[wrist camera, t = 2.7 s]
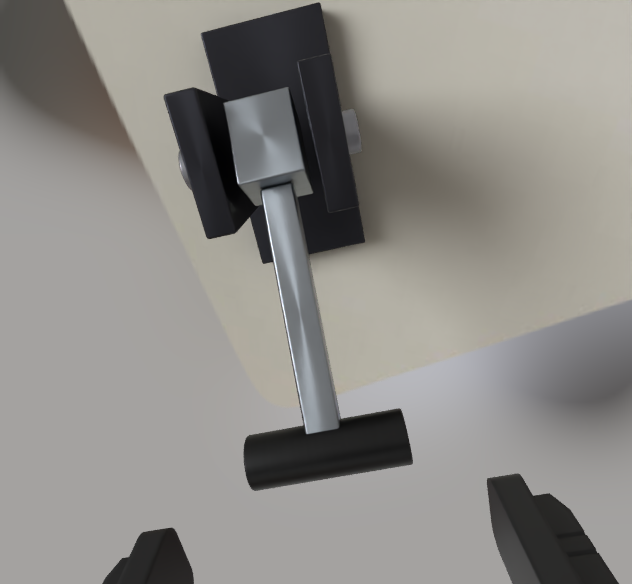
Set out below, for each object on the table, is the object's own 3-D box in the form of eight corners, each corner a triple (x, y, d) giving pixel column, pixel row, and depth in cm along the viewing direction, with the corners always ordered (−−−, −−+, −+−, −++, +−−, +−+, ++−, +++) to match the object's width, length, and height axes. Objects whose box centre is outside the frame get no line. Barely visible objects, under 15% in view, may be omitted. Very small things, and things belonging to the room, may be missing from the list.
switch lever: (408, 452, 15) (417, 475, 13) (264, 477, 15) (246, 504, 13) (336, 112, 16) (333, 74, 14) (205, 143, 17) (180, 112, 14)
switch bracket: (363, 237, 26) (394, 313, 15) (265, 259, 27) (224, 347, 16) (320, 8, 22) (319, -118, 11) (206, 37, 23) (96, -55, 12)
